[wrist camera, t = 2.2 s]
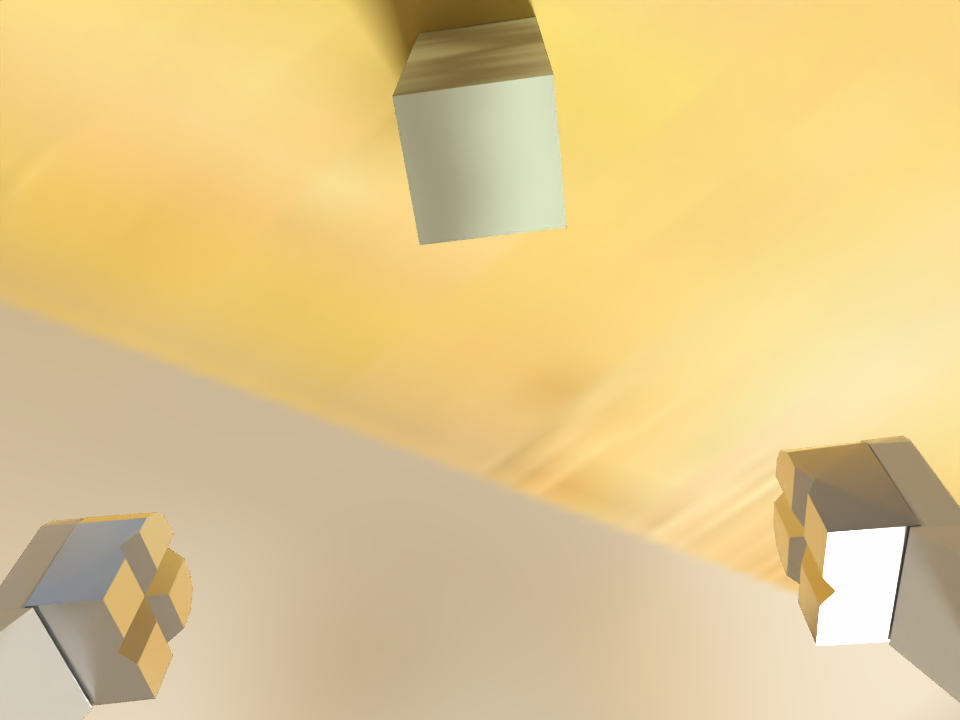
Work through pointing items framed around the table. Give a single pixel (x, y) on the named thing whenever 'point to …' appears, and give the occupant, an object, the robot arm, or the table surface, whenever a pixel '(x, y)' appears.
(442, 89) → the sage wooden block
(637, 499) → the table surface
